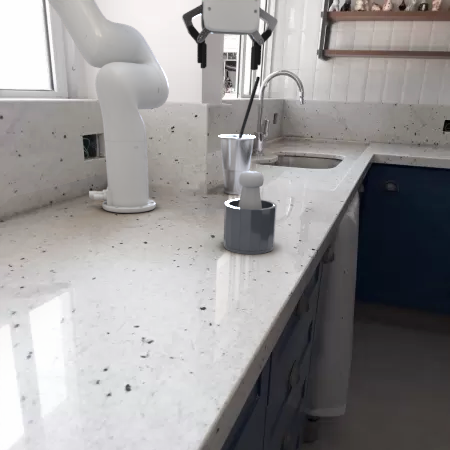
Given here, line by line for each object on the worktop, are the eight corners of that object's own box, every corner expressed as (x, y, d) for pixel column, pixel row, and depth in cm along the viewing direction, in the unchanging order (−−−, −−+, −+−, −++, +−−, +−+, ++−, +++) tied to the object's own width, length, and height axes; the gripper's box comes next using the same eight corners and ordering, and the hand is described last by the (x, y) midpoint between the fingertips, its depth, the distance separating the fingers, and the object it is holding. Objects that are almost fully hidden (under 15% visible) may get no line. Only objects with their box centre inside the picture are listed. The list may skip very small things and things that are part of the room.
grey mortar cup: (228, 255, 85) (230, 210, 82) (220, 240, 93) (221, 198, 90) (279, 253, 86) (282, 209, 83) (266, 239, 95) (268, 198, 91)
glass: (253, 197, 131) (259, 76, 119) (213, 195, 133) (215, 75, 121) (259, 190, 141) (265, 77, 129) (221, 188, 143) (224, 76, 131)
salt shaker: (242, 249, 86) (245, 175, 81) (227, 241, 91) (229, 170, 85) (270, 245, 88) (274, 173, 83) (254, 237, 93) (257, 168, 88)
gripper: (274, -33, 88) (268, 71, 95) (179, -40, 85) (180, 68, 92) (286, -43, 81) (279, 69, 88) (183, -51, 78) (184, 66, 85)
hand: (229, 68), depth 90 cm, fingers open, 9 cm apart
